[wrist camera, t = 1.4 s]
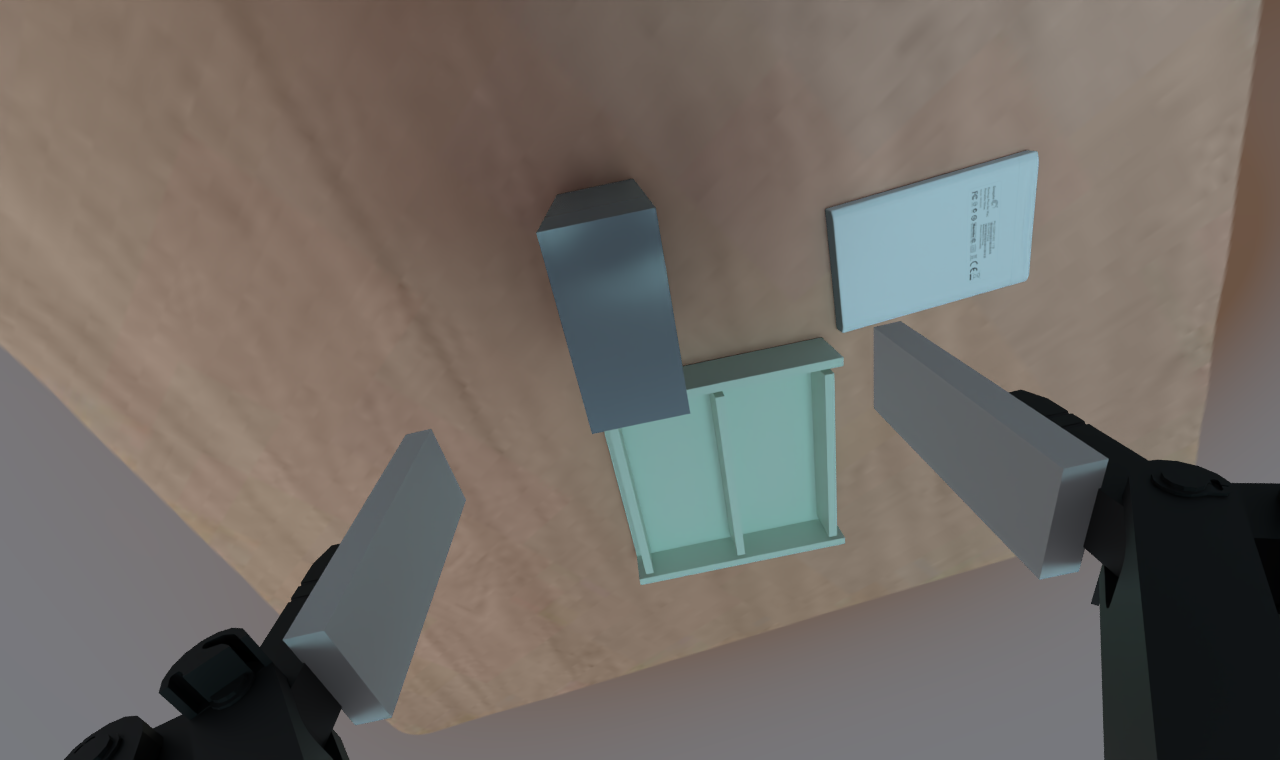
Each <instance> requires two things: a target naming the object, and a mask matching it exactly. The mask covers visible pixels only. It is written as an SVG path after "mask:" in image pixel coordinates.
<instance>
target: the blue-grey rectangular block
mask: <svg viewBox="0 0 1280 760" xmlns="http://www.w3.org/2000/svg"><path fill="white" fill-rule="evenodd" d="M536 234H537V237H538V241H539V244H540V248H541V252H542V255H543V259H544V262H545V266H546V270H547V273H548V277H549V280H550V284H551V288H552V291H553V295H554V298H555V302H556V306H557V309H558V313H559V316H560V320H561V324H562V327H563V331H564V334H565V338H566V342H567V345H568V349H569V352H570V356H571V360H572V363H573V367H574V370H575V374H576V378H577V381H578V385H579V388H580V392H581V395H582V399H583V403H584V406H585V410H586V413H587V417H588V421H589V424H590V428H591V431H592V434H594V433H599V432H604V431H608V430H613V429H618V428H623V427H628V426H633V425H637V424H642V423H647V422H652V421H657V420H662V419H666V418H671V417H676V416H681V415H686V414H690V408H689V402H688V397H687V391H686V385H685V379H684V373H683V367H682V361H681V355H680V349H679V343H678V337H677V332H676V326H675V320H674V314H673V308H672V302H671V296H670V290H669V284H668V278H667V272H666V267H665V261H664V255H663V249H662V243H661V237H660V231H659V225H658V219H657V213H656V208H655V206H654V205H653V204H652V202H651V201H650V200H649V198H648V197H647V196H646V195H645V193H644V192H643V191H642V189H641V188H640V187H639V186H638V184H637V183H636V182H635V180H634V179H628V180H623V181H619V182H614V183H609V184H604V185H600V186H595V187H590V188H586V189H581V190H576V191H572V192H567V193H562V194H558V195H557V196H556V197H555V199H554V201H553V203H552V205H551V207H550V209H549V210H548V212H547V214H546V216H545V218H544V220H543V221H542V223H541V225H540V227H539V229H538V231H537V232H536Z"/></svg>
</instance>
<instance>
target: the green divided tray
mask: <svg viewBox="0 0 1280 760" xmlns="http://www.w3.org/2000/svg"><path fill="white" fill-rule="evenodd" d="M840 366H843V357H842V356H841V355H840V354H839V353H838V352H837V351H836V350H835V349H834V348H833V347H832V346H831V345H829V344H828V343H827V342H826V341H825V340H824V339H823V338H822V337H821V338H816V339H811V340H806V341H802V342H797V343H792V344H787V345H783V346H778V347H773V348H768V349H763V350H759V351H754V352H749V353H744V354H739V355H735V356H730V357H725V358H720V359H715V360H711V361H706V362H701V363H696V364H691V365H687V366H682V367H683V373H684V379H685V385H686V391H687V397H688V402H689V408H690V414H686V415H681V416H676V417H671V418H666V419H662V420H657V421H652V422H647V423H642V424H637V425H633V426H628V427H623V428H618V429H613V430H608V431H604V433H605V437H606V440H607V444H608V448H609V452H610V455H611V459H612V463H613V467H614V471H615V474H616V478H617V482H618V486H619V489H620V493H621V497H622V501H623V505H624V508H625V512H626V516H627V520H628V524H629V527H630V531H631V535H632V539H633V542H634V546H635V550H636V554H637V560H638V570H639V579H640V583H641V585H643V584H648V583H653V582H658V581H663V580H668V579H673V578H678V577H683V576H687V575H692V574H697V573H702V572H707V571H712V570H717V569H722V568H727V567H732V566H736V565H741V564H746V563H751V562H756V561H761V560H766V559H771V558H776V557H781V556H786V555H790V554H795V553H800V552H805V551H810V550H815V549H820V548H825V547H830V546H835V545H840V544H844V543H845V537H844V535H843V534H842V532H841V531H840V529H839V527H838V526H837V503H836V446H835V390H834V373H833V372H832V371H831V370H830V368H835V367H840Z"/></svg>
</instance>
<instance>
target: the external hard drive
mask: <svg viewBox="0 0 1280 760" xmlns="http://www.w3.org/2000/svg"><path fill="white" fill-rule="evenodd" d="M1038 165H1039V158H1038V153H1037V151H1029V150H1026V151H1023V152H1019V153H1016V154H1012V155H1009V156H1005V157H1002V158H999V159H995V160H992V161H988V162H985V163H981V164H978V165H974V166H971V167H968V168H964V169H961V170H957V171H954V172H950V173H947V174H943V175H940V176H937V177H933V178H930V179H926V180H923V181H920V182H916V183H913V184H909V185H906V186H903V187H899V188H896V189H892V190H889V191H885V192H882V193H878V194H875V195H871V196H868V197H865V198H861V199H858V200H854V201H851V202H847V203H844V204H841V205H837V206H834V207H830V208H826V209H825V214H826V224H827V233H828V243H829V254H830V264H831V274H832V284H833V294H834V304H835V315H836V326H837V329H838V330H839V331H841V332H842V333H845V332H848V331H852V330H855V329H859V328H862V327H865V326H869V325H872V324H876V323H879V322H883V321H887V320H890V319H894V318H897V317H901V316H904V315H908V314H911V313H915V312H918V311H922V310H925V309H929V308H932V307H936V306H939V305H943V304H946V303H950V302H953V301H957V300H960V299H964V298H967V297H971V296H974V295H978V294H981V293H985V292H988V291H992V290H995V289H999V288H1002V287H1006V286H1009V285H1013V284H1017V283H1020V282H1024V281H1026V280H1027V278H1028V276H1029V267H1030V255H1031V242H1032V230H1033V219H1034V208H1035V197H1036V185H1037V176H1038Z"/></svg>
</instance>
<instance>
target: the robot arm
mask: <svg viewBox="0 0 1280 760" xmlns="http://www.w3.org/2000/svg"><path fill="white" fill-rule="evenodd" d="M874 409H875V410H876V411H877V412H878V413H879V414H880V415H881V416H882V417H883V418H884V419H885V420H886V421H887V422H888V423H889V424H890V425H891V426H892V427H893V428H894V430H895V431H896V432H897V433H898V434H899V435H900V436H901V437H902V438H903V439H904V440H905V441H906V442H907V443H908V444H909V445H910V446H911V447H912V448H913V449H914V450H915V451H916V452H917V453H918V454H919V455H920V456H921V458H922V459H923V460H924V461H925V462H926V463H927V464H928V465H929V466H930V467H931V468H932V469H933V470H934V471H935V472H936V473H937V474H938V475H939V476H940V477H941V478H942V479H943V480H944V481H945V482H946V483H947V484H948V485H949V487H950V488H951V489H952V490H953V491H954V492H955V493H956V494H957V495H958V496H959V497H960V498H961V499H962V500H963V501H964V502H965V503H966V504H967V505H968V506H969V507H970V508H971V509H972V510H973V511H974V512H975V513H976V515H977V516H978V517H979V518H980V519H981V520H982V521H983V522H984V523H985V524H986V525H987V526H988V527H989V528H990V529H991V530H992V531H993V532H994V533H995V534H996V535H997V536H998V537H999V538H1000V539H1001V540H1002V541H1003V543H1004V544H1005V545H1006V546H1007V547H1008V548H1009V549H1010V550H1011V551H1012V552H1013V553H1014V554H1015V555H1016V556H1017V557H1018V558H1019V559H1020V560H1021V561H1022V562H1023V563H1024V564H1025V565H1026V566H1027V567H1028V568H1029V569H1030V570H1031V572H1032V573H1033V574H1034V575H1035V576H1036V577H1037V578H1038V579H1039V580H1040V579H1045V578H1050V577H1054V576H1059V575H1064V574H1069V573H1073V572H1078V571H1079V569H1080V564H1081V561H1082V557H1083V554H1084V550H1085V549H1086V550H1087V551H1089V552H1090V553H1091V554H1092V555H1093V556H1094V557H1095V558H1097V559H1098V560H1099V561H1100V562H1101V563H1102V568H1101V571H1100V575H1099V578H1098V581H1097V585H1096V588H1095V591H1094V595H1093V598H1092V602H1091V604H1094V605H1097V606H1099V604H1100V629H1101V661H1102V695H1103V729H1104V758H1105V759H1104V760H1280V484H1272V483H1270V484H1268V483H1266V484H1265V483H1230V482H1229V481H1227V480H1226V479H1224V478H1223V477H1221V476H1220V475H1218V474H1216V473H1214V472H1211V471H1209V470H1207V469H1204V468H1202V467H1199V466H1196V465H1192V464H1187V463H1183V462H1179V461H1168V460H1152V461H1148V460H1146V459H1145V458H1143V457H1142V456H1140V455H1138V454H1137V453H1135V452H1134V451H1132V450H1130V449H1129V448H1127V447H1125V446H1124V445H1122V444H1121V443H1119V442H1117V441H1116V440H1114V439H1112V438H1111V437H1109V436H1108V435H1106V434H1104V433H1103V432H1101V431H1099V430H1098V429H1096V428H1095V427H1093V426H1091V425H1090V424H1085V421H1083V420H1082V419H1080V418H1078V417H1077V416H1075V415H1074V414H1069V413H1068V411H1067V410H1065V409H1064V408H1062V407H1061V406H1059V405H1057V404H1056V403H1054V402H1052V401H1051V400H1049V399H1048V398H1045V397H1042V396H1039V395H1036V394H1033V393H1030V392H1027V391H1024V390H1018V391H1013V392H1009V393H1008V392H1007V391H1005V390H1004V389H1002V388H1001V387H999V386H998V385H996V384H995V383H993V382H992V381H990V380H989V379H987V378H986V377H984V376H983V375H981V374H980V373H978V372H977V371H975V370H973V369H972V368H970V367H969V366H967V365H966V364H964V363H963V362H961V361H960V360H958V359H957V358H955V357H954V356H952V355H951V354H949V353H948V352H946V351H945V350H943V349H942V348H940V347H939V346H937V345H936V344H934V343H933V342H931V341H930V340H928V339H927V338H925V337H924V336H922V335H921V334H919V333H918V332H916V331H914V330H913V329H911V328H910V327H908V326H907V325H905V324H904V323H902V322H901V321H899V322H894V323H890V324H886V325H881V326H877V327H874ZM465 501H466V499H465V497H464V495H463V493H462V491H461V489H460V487H459V485H458V483H457V481H456V479H455V477H454V475H453V473H452V470H451V468H450V466H449V464H448V462H447V460H446V458H445V456H444V454H443V452H442V450H441V448H440V446H439V444H438V442H437V440H436V438H435V436H434V434H433V432H432V430H431V429H428V430H424V431H420V432H415V433H411V434H407V435H405V437H404V439H403V440H402V442H401V444H400V445H399V447H398V449H397V450H396V452H395V454H394V455H393V457H392V459H391V460H390V462H389V464H388V465H387V467H386V469H385V470H384V472H383V474H382V475H381V477H380V479H379V480H378V482H377V484H376V485H375V487H374V489H373V490H372V492H371V494H370V495H369V497H368V499H367V500H366V502H365V504H364V505H363V507H362V509H361V510H360V512H359V514H358V515H357V517H356V519H355V520H354V522H353V524H352V525H351V527H350V529H349V530H348V532H347V534H346V535H345V537H344V539H343V540H342V542H341V544H336V545H332V546H331V547H330V548H329V549H328V550H327V551H326V552H325V553H323V554H322V555H321V556H320V557H319V558H318V559H317V560H316V561H315V562H314V563H313V565H312V566H311V568H310V569H309V571H308V572H307V574H306V576H305V577H304V579H303V580H302V582H301V586H299V587H298V588H297V590H296V591H295V593H294V594H293V596H292V598H291V602H288V604H287V605H286V607H285V609H284V610H283V612H282V613H281V615H280V616H279V618H278V620H277V621H276V623H275V624H274V626H273V627H272V629H271V631H270V632H269V634H268V635H267V637H266V638H265V640H264V642H263V643H262V645H261V646H260V647H259V646H258V645H257V644H256V643H255V642H254V641H253V639H252V638H251V637H250V636H249V635H248V634H247V633H246V632H245V630H243V629H242V628H230V629H227V630H224V631H221V632H218V633H216V634H214V635H212V636H210V637H208V638H206V639H204V640H203V641H201V642H200V643H198V644H197V645H196V646H194V647H193V648H192V649H191V650H189V651H188V652H186V653H185V654H184V655H183V656H182V657H181V658H180V659H179V660H178V661H177V662H176V663H175V664H174V665H173V666H172V667H171V669H170V670H169V671H168V673H167V674H166V676H165V677H164V679H163V680H162V683H161V687H160V690H159V693H160V694H161V695H162V696H163V697H164V698H165V699H166V700H167V701H168V702H170V703H171V704H172V705H173V706H174V707H175V708H176V709H177V710H178V711H179V712H181V713H182V715H180V716H178V717H176V718H174V719H172V720H170V721H168V722H166V723H164V724H162V725H159V726H158V727H155V728H151V727H150V726H149V725H148V724H147V723H145V722H144V721H143V720H142V719H141V718H139V717H138V716H129V717H123V718H121V719H119V720H116V721H114V722H112V723H109V724H108V725H106V726H104V727H103V728H101V729H100V730H98V731H97V732H95V733H93V734H91V735H90V736H89V737H88V738H86V739H85V740H84V741H83V742H82V743H80V744H79V745H78V746H77V747H75V749H73V750H72V751H71V753H70V754H69V755H68V756H67V757H66V758H65V759H64V760H349V758H348V755H347V752H346V750H345V748H344V745H343V743H342V740H341V738H340V737H339V736H338V734H337V733H336V732H335V731H334V730H333V727H334V724H335V722H336V720H337V718H338V715H339V713H340V710H341V709H342V710H343V711H344V713H345V714H346V715H347V716H348V717H349V718H350V720H351V721H352V722H353V723H354V724H355V725H359V724H364V723H369V722H373V721H377V720H383V719H387V718H392V715H393V712H394V709H395V706H396V703H397V700H398V697H399V695H400V692H401V689H402V686H403V683H404V680H405V677H406V674H407V671H408V668H409V665H410V662H411V659H412V656H413V653H414V651H415V648H416V645H417V642H418V639H419V636H420V633H421V630H422V627H423V624H424V621H425V618H426V615H427V612H428V610H429V607H430V604H431V601H432V598H433V595H434V592H435V589H436V586H437V583H438V580H439V577H440V574H441V571H442V568H443V566H444V563H445V560H446V557H447V554H448V551H449V548H450V545H451V542H452V539H453V536H454V533H455V530H456V527H457V524H458V522H459V519H460V516H461V513H462V510H463V507H464V504H465Z"/></svg>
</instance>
